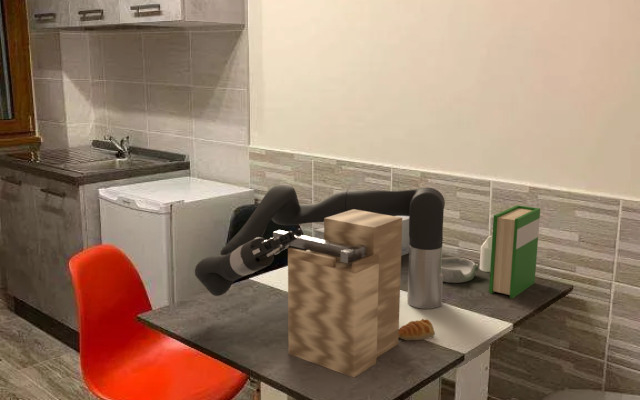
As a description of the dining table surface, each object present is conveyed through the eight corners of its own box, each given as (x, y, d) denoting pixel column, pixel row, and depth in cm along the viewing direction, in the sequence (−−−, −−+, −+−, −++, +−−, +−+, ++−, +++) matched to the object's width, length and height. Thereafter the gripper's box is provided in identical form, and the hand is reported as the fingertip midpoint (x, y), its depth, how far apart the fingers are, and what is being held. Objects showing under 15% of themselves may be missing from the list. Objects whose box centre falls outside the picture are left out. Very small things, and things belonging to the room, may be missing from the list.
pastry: (406, 344, 160) (406, 330, 160) (391, 335, 166) (391, 321, 166) (436, 337, 165) (437, 323, 164) (421, 328, 171) (421, 314, 170)
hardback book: (512, 298, 191) (518, 219, 186) (488, 293, 196) (493, 215, 191) (534, 282, 205) (540, 208, 200) (511, 278, 209) (517, 205, 204)
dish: (480, 275, 212) (481, 260, 211) (465, 287, 201) (466, 272, 200) (439, 267, 220) (439, 253, 219) (422, 279, 209) (423, 264, 208)
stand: (288, 353, 155) (287, 223, 148) (341, 326, 171) (342, 207, 164) (353, 377, 143) (356, 237, 137) (403, 345, 159) (407, 218, 153)
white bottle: (487, 231, 219) (502, 234, 216) (485, 265, 222) (500, 269, 218) (478, 234, 215) (493, 238, 211) (476, 269, 218) (491, 273, 214)
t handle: (266, 243, 155) (266, 233, 154) (286, 237, 160) (286, 228, 160) (348, 263, 140) (348, 252, 140) (367, 256, 146) (367, 245, 145)
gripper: (275, 264, 169) (321, 242, 158) (237, 277, 158) (283, 255, 147) (264, 237, 170) (309, 213, 159) (225, 249, 159) (271, 224, 148)
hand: (296, 234), depth 153 cm, fingers closed on t handle, 2 cm apart
